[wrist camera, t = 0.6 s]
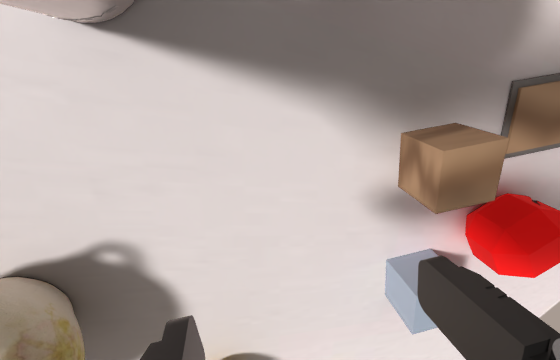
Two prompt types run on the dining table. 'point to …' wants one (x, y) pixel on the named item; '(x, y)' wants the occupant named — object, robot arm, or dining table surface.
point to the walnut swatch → (533, 116)
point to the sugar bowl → (37, 322)
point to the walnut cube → (451, 166)
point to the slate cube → (407, 290)
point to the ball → (515, 235)
